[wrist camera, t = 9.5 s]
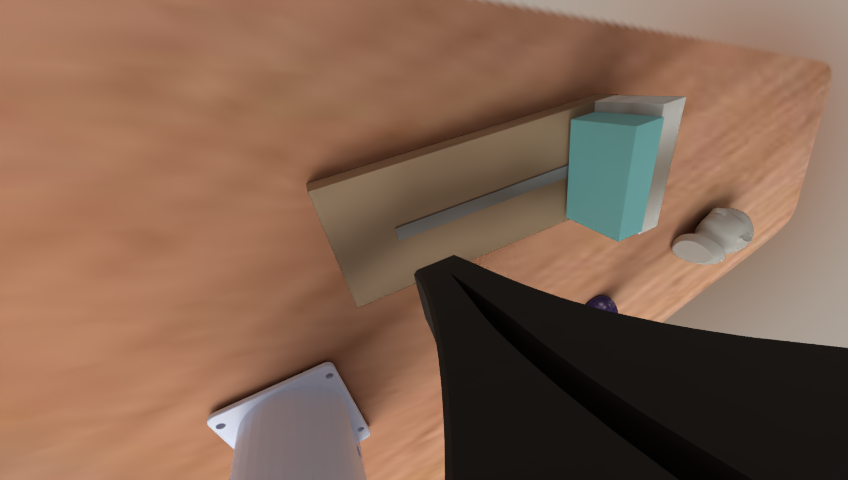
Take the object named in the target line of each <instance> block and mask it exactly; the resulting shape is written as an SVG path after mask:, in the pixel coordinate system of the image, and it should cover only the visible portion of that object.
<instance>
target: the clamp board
mask: <svg viewBox="0 0 848 480" xmlns="http://www.w3.org/2000/svg"><path fill="white" fill-rule="evenodd" d="M685 100H686V97H678V96H625V95H618V94H595V95H592V96H589V97H585V98H582V99H579V100H576V101H573V102H569V103H566V104H563V105H560V106H556V107H553V108H550V109H547V110H543V111H540V112H537V113H534V114H530V115H527V116H524V117H521V118H517V119H514V120H511V121H508V122H504V123H501V124H498V125H495V126H491V127H488V128H485V129H482V130H479V131H475V132H472V133H469V134H466V135H462V136H459V137H456V138H453V139H449V140H446V141H443V142H440V143H436V144H433V145H430V146H427V147H423V148H420V149H417V150H414V151H410V152H407V153H404V154H401V155H397V156H394V157H391V158H388V159H384V160H381V161H378V162H375V163H372V164H368V165H365V166H362V167H359V168H355V169H352V170H349V171H346V172H342V173H339V174H336V175H333V176H329V177H326V178H323V179H320V180H316V181H313V182H310V183H307V191H308V194H309V196H310V199H311V201H312V203H313V206H314V208H315V210H316V213H317V215H318V217H319V220H320V222H321V224H322V227H323V229H324V231H325V234H326V236H327V238H328V241H329V243H330V245H331V248H332V250H333V252H334V255H335V257H336V259H337V262H338V264H339V266H340V269H341V271H342V273H343V276H344V278H345V280H346V283H347V285H348V287H349V290H350V292H351V294H352V297H353V299H354V301H355V304H356V306H357V308H358V307H361V306H363V305H365V304H368V303H370V302H372V301H375V300H377V299H380V298H382V297H384V296H387V295H389V294H392V293H394V292H396V291H399V290H401V289H404V288H406V287H408V286H411V285H413V284H416V281H415V277H414V274H415V272H416V270H418V269H420V268H423V267H425V266H428V265H430V264H433V263H435V262H438V261H440V260H442V259H445V258H447V257H450V256H452V255H456V256H458V257H461V258H463V259H465V260H467V261H471V260H473V259H475V258H478V257H480V256H483V255H485V254H487V253H490V252H492V251H495V250H497V249H499V248H502V247H504V246H506V245H509V244H511V243H514V242H516V241H518V240H521V239H523V238H526V237H528V236H530V235H533V234H535V233H538V232H540V231H542V230H545V229H547V228H550V227H552V226H554V225H557V224H559V223H562V222H564V221H566V220H569V218H567V217H566V211H567V191H568V171H569V150H570V130H571V119H574V118H577V117H580V116H583V115H586V114H589V113H593V112H607V113H620V114H634V115H648V116H661V117H664V122H663V127H662V132H661V137H660V142H659V147H658V152H657V157H656V162H655V167H654V172H653V177H652V182H651V187H650V192H649V197H648V201H647V206H646V211H645V216H644V221H643V226H642V231H641V232H639V233H636V234H638V235H639V234H641V233H643V232H646V231H648V230H650V229H652V228H654V227H656V226H657V223H658V218H659V214H660V209H661V205H662V201H663V196H664V192H665V188H666V183H667V179H668V174H669V170H670V166H671V161H672V157H673V152H674V148H675V144H676V139H677V135H678V131H679V126H680V122H681V117H682V113H683V109H684V104H685Z"/></svg>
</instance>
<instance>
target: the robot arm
mask: <svg viewBox="0 0 848 480" xmlns="http://www.w3.org/2000/svg"><path fill="white" fill-rule="evenodd" d="M414 277H415V281H416V284H417V288H418V291H419V295H420V299H421V302H422V306H423V310H424V313H425V317H426V320H427V322H428V324H429V326H430V329H431V331H432V333H433V336H434V338H435V341H436V344H437V351H438V358H439V366H440V376H441V386H442V401H443V417H444V439H445V480H848V348H843V347H834V346H825V345H816V344H807V343H798V342H789V341H779V340H771V339H761V338H753V337H745V336H738V335H732V334H725V333H719V332H712V331H706V330H699V329H693V328H688V327H682V326H676V325H671V324H665V323H660V322H656V321H651V320H646V319H641V318H637V317H632V316H627V315H623V314H619V313H614V312H610V311H606V310H602V309H599V308H595V307H592V306H588V305H584V304H581V303H577V302H573V301H570V300H567V299H564V298H560V297H557V296H554V295H552V294H549V293H546V292H543V291H540V290H537V289H534V288H532V287H529V286H526V285H524V284H521V283H518V282H516V281H513V280H511V279H509V278H506V277H504V276H501V275H499V274H497V273H494V272H492V271H490V270H487V269H485V268H483V267H481V266H478V265H476V264H474V263H472V262H470V261H467V260H465V259H463V258H461V257H458V256H456V255H452V256H450V257H447V258H445V259H442V260H440V261H438V262H435V263H433V264H430V265H428V266H425V267H423V268H420V269H418V270H416V272H415V274H414ZM329 373H331V374H329ZM207 425H208V426H209V427H210V428H211V429H212V430H213V431H215V432H216V433H217V434H218V435H219V436H220V437H221V438H222V439H223V440H224V441H225V442H226V443H227V444H228V445H230V446H231V447H232V448H233V449H234V454H233V461H232V467H231V473H230V479H229V480H367V478H366V473H365V468H364V463H363V458H362V452H361V447H360V441H362V440H364V439H366V438H367V437H368V436H369V435H370V429H369V427H368V425H367V424H366V422H365V420H364V418H363V416H362V415H361V413H360V411H359V409H358V407H357V406H356V404H355V402H354V400H353V398H352V397H351V395H350V393H349V391H348V389H347V388H346V386H345V384H344V382H343V380H342V379H341V377H340V375H339V373H338V371H337V370H336V368H335V366H334V364H333V363H331V362H325V363H323V364H320V365H318V366H316V367H314V368H311V369H309V370H307V371H305V372H302V373H300V374H298V375H296V376H294V377H291V378H289V379H287V380H285V381H282V382H280V383H278V384H276V385H274V386H271V387H269V388H267V389H265V390H262V391H260V392H258V393H256V394H253V395H251V396H249V397H247V398H245V399H242V400H240V401H238V402H236V403H233V404H231V405H229V406H227V407H225V408H222V409H220V410H218V411H216V412H213V413H212V414H210V415H209V416H208V420H207Z"/></svg>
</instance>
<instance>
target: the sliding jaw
mask: <svg viewBox="0 0 848 480" xmlns="http://www.w3.org/2000/svg"><path fill="white" fill-rule="evenodd" d="M663 122H664V117H661V116H648V115H634V114H620V113H607V112H593V113H589V114H586V115H583V116H580V117H577V118H574V119H571V130H570V150H569V171H568V191H567V211H566V217H567V218H569V219H571V220H573V221H575V222H577V223H579V224H582V225H584V226H586V227H588V228H590V229H592V230H594V231H597V232H599V233H601V234H603V235H605V236H607V237H609V238H612V239H614V240H616V241H618V242H619V241H621V240H623V239H626V238H628V237H630V236H632V235H634V234H636V233H639V232H641V231H642V226H643V221H644V216H645V211H646V206H647V201H648V197H649V192H650V187H651V182H652V177H653V172H654V167H655V162H656V157H657V152H658V147H659V142H660V137H661V132H662V127H663Z"/></svg>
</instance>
